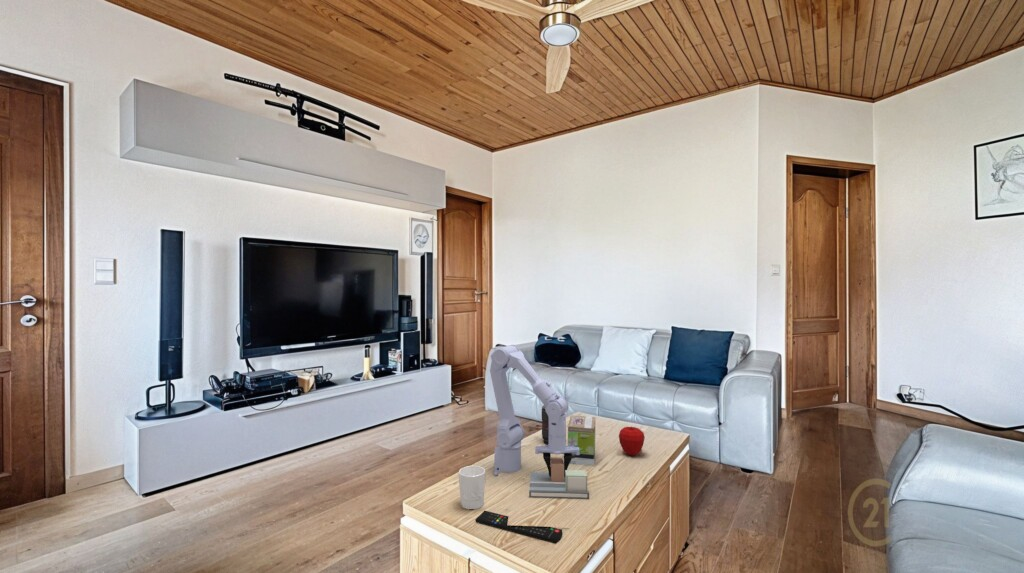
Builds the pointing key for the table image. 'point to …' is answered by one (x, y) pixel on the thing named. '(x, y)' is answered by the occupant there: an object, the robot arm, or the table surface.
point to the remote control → (520, 527)
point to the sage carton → (575, 480)
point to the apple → (631, 440)
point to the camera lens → (545, 426)
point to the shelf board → (551, 488)
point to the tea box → (582, 439)
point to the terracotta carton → (557, 469)
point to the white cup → (472, 486)
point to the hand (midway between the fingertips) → (557, 475)
